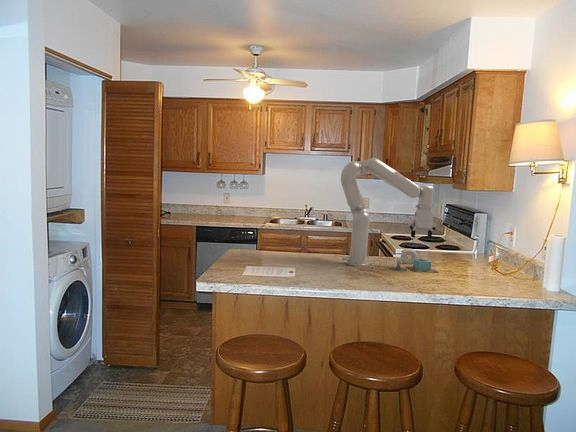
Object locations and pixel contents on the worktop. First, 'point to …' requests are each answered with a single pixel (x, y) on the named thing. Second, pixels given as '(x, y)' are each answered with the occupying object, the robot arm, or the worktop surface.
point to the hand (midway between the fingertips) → (421, 237)
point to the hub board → (421, 270)
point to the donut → (404, 255)
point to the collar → (422, 265)
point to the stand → (398, 267)
